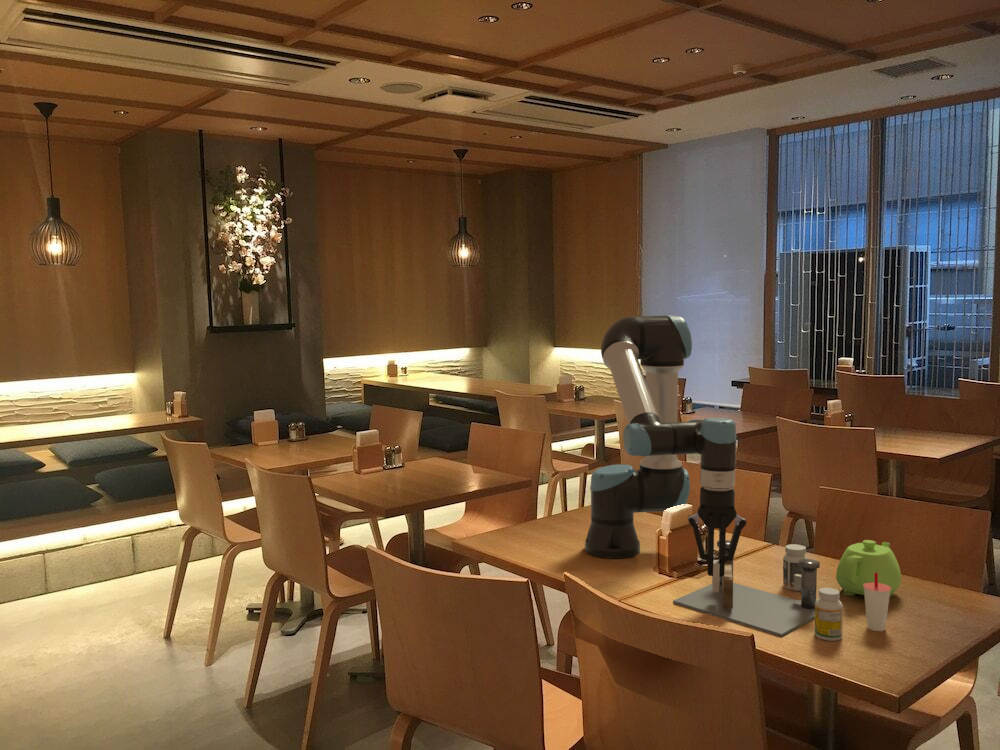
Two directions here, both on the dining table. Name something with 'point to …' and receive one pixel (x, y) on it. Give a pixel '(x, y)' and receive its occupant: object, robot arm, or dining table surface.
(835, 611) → the supplement bottle
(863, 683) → the dining table surface
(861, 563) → the teapot
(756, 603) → the base board
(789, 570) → the pill bottle
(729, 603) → the wooden block
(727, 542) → the hinge post
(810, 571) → the post
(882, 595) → the cup
